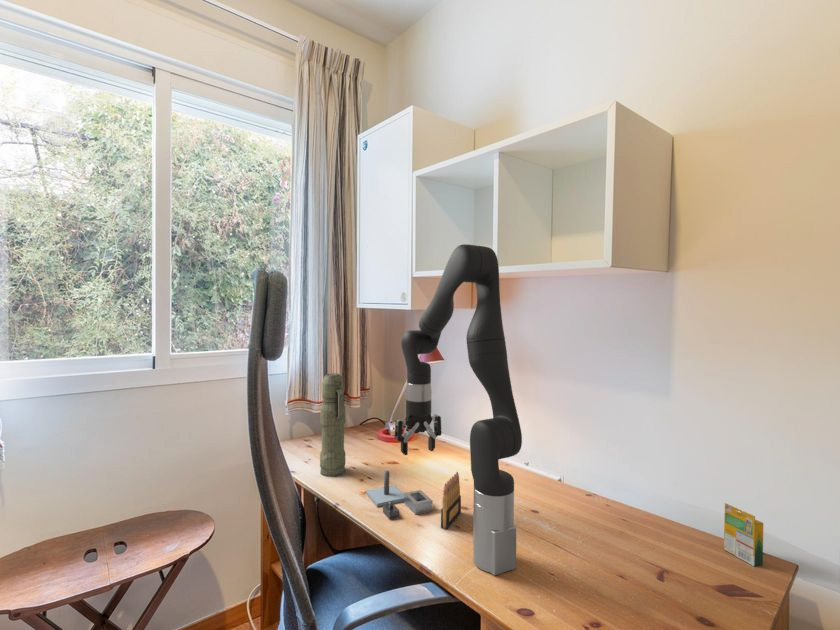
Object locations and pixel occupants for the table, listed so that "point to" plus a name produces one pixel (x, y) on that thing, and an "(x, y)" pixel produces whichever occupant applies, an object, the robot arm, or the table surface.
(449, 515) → the ammunition clip
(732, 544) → the crayon box
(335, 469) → the thermos
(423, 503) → the steel link
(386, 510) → the anchor cleat
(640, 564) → the table surface
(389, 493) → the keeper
